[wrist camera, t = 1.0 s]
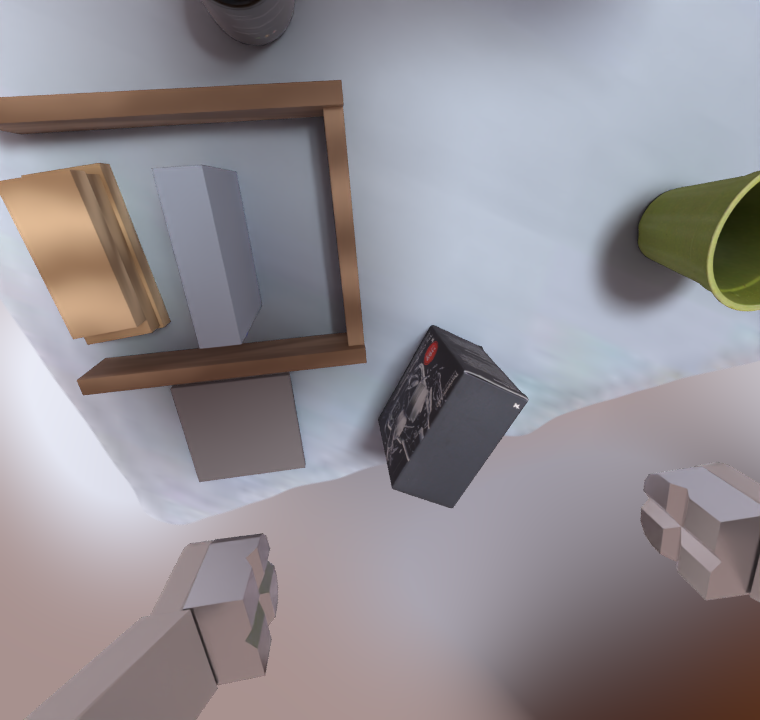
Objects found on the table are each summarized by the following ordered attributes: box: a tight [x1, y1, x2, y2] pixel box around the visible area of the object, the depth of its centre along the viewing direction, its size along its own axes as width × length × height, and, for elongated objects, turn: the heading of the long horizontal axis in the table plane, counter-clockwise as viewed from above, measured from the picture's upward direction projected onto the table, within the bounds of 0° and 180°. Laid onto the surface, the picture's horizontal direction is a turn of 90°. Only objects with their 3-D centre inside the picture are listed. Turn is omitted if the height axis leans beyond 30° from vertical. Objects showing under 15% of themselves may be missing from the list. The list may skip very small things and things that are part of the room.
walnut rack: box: [0, 80, 367, 395], centre depth 35 cm, size 22×26×5 cm
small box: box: [378, 325, 528, 508], centre depth 40 cm, size 13×7×12 cm, turn 153°
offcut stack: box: [0, 163, 171, 345], centre depth 34 cm, size 14×6×6 cm, turn 9°
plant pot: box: [638, 171, 760, 311], centre depth 37 cm, size 12×12×11 cm
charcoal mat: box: [170, 372, 305, 482], centre depth 44 cm, size 12×12×1 cm
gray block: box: [151, 165, 262, 349], centre depth 32 cm, size 12×3×11 cm, turn 4°
